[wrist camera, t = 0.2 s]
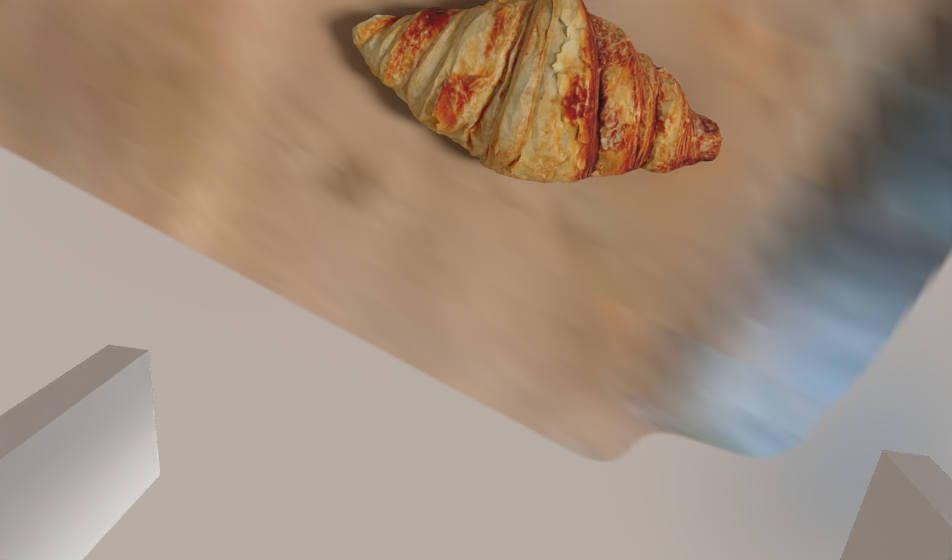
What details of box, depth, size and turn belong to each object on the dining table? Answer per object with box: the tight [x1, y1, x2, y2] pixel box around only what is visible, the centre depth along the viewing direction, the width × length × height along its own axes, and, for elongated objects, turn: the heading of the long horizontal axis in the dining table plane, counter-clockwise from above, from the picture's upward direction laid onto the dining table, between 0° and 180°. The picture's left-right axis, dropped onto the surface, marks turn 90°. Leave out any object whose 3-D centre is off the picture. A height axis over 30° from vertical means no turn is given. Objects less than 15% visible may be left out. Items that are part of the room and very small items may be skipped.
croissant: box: [353, 0, 722, 183], centre depth 33 cm, size 21×10×8 cm, turn 75°
